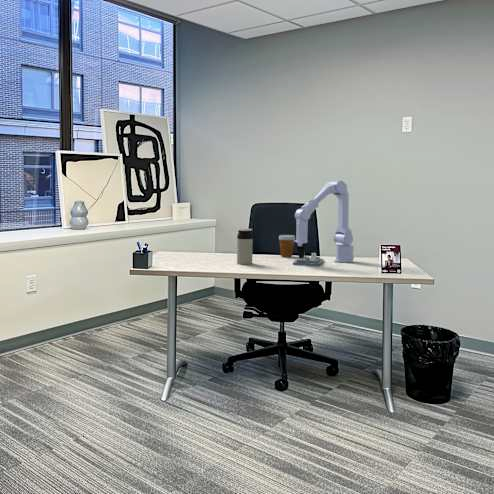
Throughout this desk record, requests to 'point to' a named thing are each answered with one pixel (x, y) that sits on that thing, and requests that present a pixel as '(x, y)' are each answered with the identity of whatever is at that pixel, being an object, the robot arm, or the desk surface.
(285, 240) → the disposable coffee cup
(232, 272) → the desk surface
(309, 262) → the switch bank
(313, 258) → the tab
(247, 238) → the travel mug
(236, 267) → the desk surface
